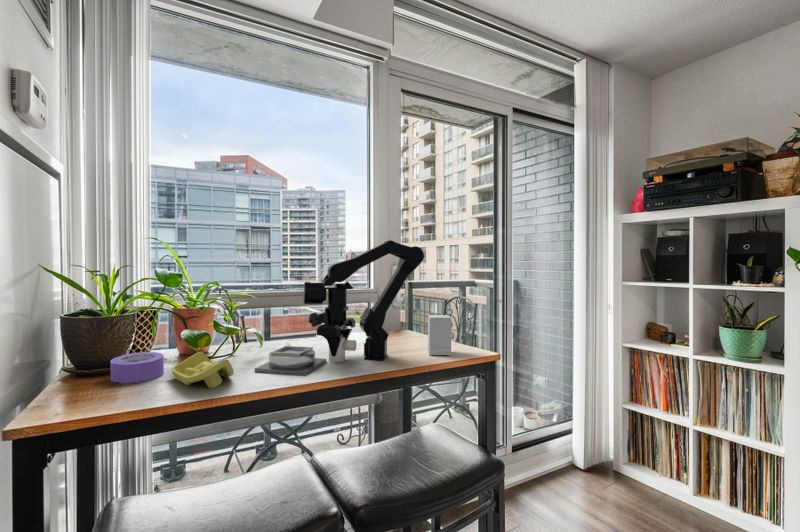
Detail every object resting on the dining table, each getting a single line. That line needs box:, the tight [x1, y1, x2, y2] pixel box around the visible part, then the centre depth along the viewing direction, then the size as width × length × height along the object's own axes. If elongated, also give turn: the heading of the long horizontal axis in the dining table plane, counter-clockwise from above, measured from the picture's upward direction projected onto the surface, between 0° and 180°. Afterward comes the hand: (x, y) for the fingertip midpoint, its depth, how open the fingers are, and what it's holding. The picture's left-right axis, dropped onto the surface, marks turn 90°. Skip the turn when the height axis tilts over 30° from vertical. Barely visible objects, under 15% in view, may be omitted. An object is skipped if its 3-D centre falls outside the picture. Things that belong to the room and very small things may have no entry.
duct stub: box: [254, 345, 327, 376], centre depth 118 cm, size 15×15×5 cm
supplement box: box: [427, 314, 452, 356], centre depth 136 cm, size 7×7×13 cm
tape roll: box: [109, 351, 165, 384], centre depth 107 cm, size 12×12×5 cm
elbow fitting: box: [328, 337, 357, 364], centre depth 125 cm, size 8×5×7 cm, turn 79°
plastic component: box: [170, 351, 235, 389], centre depth 103 cm, size 20×7×10 cm
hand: (337, 354), depth 126 cm, fingers open, 5 cm apart
